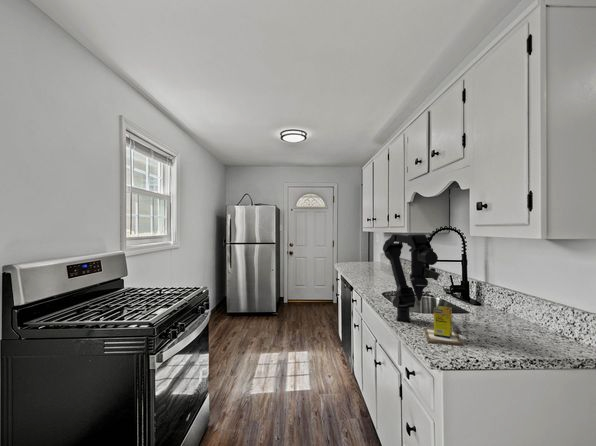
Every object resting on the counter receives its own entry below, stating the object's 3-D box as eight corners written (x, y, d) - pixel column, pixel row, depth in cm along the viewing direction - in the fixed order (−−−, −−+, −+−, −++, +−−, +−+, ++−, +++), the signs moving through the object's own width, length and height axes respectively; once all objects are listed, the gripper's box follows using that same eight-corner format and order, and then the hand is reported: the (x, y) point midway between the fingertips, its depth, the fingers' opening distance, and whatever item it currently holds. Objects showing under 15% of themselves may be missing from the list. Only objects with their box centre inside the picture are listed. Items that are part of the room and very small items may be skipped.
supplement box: (450, 338, 125) (449, 310, 126) (433, 336, 129) (433, 308, 129) (452, 334, 130) (452, 307, 131) (436, 332, 134) (436, 305, 134)
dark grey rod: (451, 320, 147) (455, 323, 146) (449, 323, 147) (452, 326, 147) (457, 329, 134) (461, 332, 134) (454, 332, 135) (458, 335, 134)
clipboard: (424, 330, 139) (424, 326, 139) (454, 332, 136) (454, 328, 136) (427, 342, 124) (427, 338, 124) (462, 345, 121) (462, 341, 121)
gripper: (441, 265, 131) (441, 304, 131) (435, 261, 149) (435, 295, 149) (411, 264, 134) (412, 302, 134) (409, 260, 152) (410, 293, 152)
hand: (418, 298), depth 142 cm, fingers open, 9 cm apart
